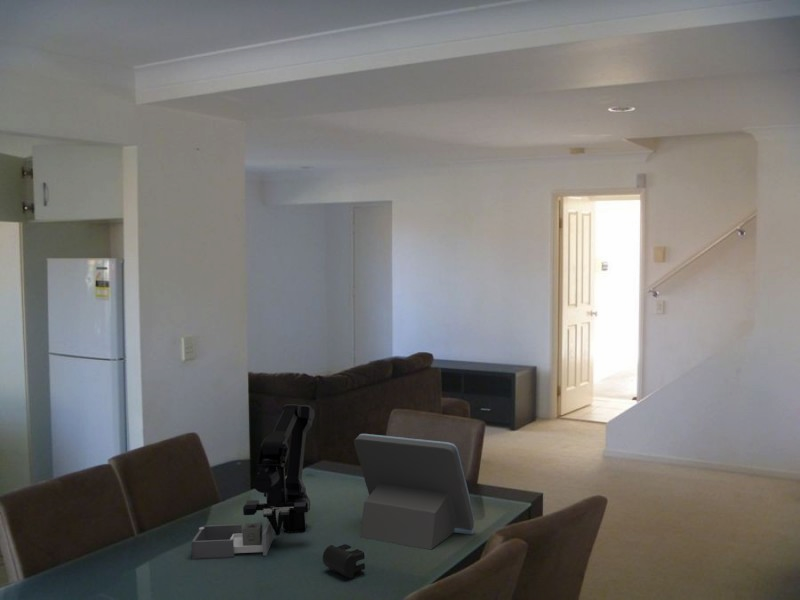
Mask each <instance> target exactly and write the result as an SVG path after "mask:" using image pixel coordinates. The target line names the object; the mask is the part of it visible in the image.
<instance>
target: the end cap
mask: <svg viewBox="0 0 800 600" xmlns="http://www.w3.org/2000/svg"><path fill="white" fill-rule="evenodd" d="M348 549H352V546H351V545H348V544H347V543H343V544H342V545H338V546H335V545H333V544H330V545H328V546H327V547H326V548H325V550H324V551H323V554H322V562H323V564H324V566H325V567H327V568H328V569H329V570H332V571H334V572H336V573H338V574H340V575H342V576H343V577H346V578H348V579H350V580H354V579H356V578H359V577H361V576H364V575H365V572H364V571H365V569H366V564H365V562H363V563H360V564H357V562H359V561H362V560H365V552H364V551H363V550H360V549H359V548H358V549H354V550H348ZM363 570H364V571H363Z"/></svg>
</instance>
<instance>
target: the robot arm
mask: <svg viewBox="0 0 800 600" xmlns="http://www.w3.org/2000/svg"><path fill="white" fill-rule="evenodd" d="M314 419H315V409H314V408H312V406H311V405H301V404H300V405H298V404H285V405H283V407H282V412H281V415H280V416H279V418H278V422H276V426H275V428H274V430H273V432H272V433H270V434H269V435H267V436H266V437H265V438H264V440H263V441H262V442H261V444H260V446H259V451H258V456H257V462H256V465H255V467H256V468H257V467H258V473H256V474H255V475H254V477H253V479H252V485H253V488H254V490H255V491H257V492H258V493H262V494H263V497H264V498H265V499H266V501H265V503H260V500H259V499H253V500H252V499H251V500H246V501H245V503H244V505H243V507H242V510H243V512H242V513H243V514H242V515H243V516H254V515H256V514H257V512H258V511H263V518H266V519H267V521H268V520H269V522H270V523H271V525H272V527H273V533H274V534H275V536H276V537H278V536H280V533H281V530H282V528H283V532H284V533H305V532H306V530H307V528H308V527H307V526H308V523H307V518H306V517H307V515H306V513H309V511H310V510H311V500H310V498H309V496H308V494H307V493H306V492H307V491H306V490H307V488H306V486H305V483H304V482H303V466H304V460H305V459H304V458H305V457H304V456H305V450H306V449H305V446H306V438H307V433H308V432H309V431H310V429H311V428H312V426H313V420H314ZM289 438H290V443H289V444H288V440H289ZM287 459H288V461H287ZM286 464H287V472H286V470H285V469H286ZM277 510H278V511H279V512H278V514H276V513H277Z"/></svg>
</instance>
